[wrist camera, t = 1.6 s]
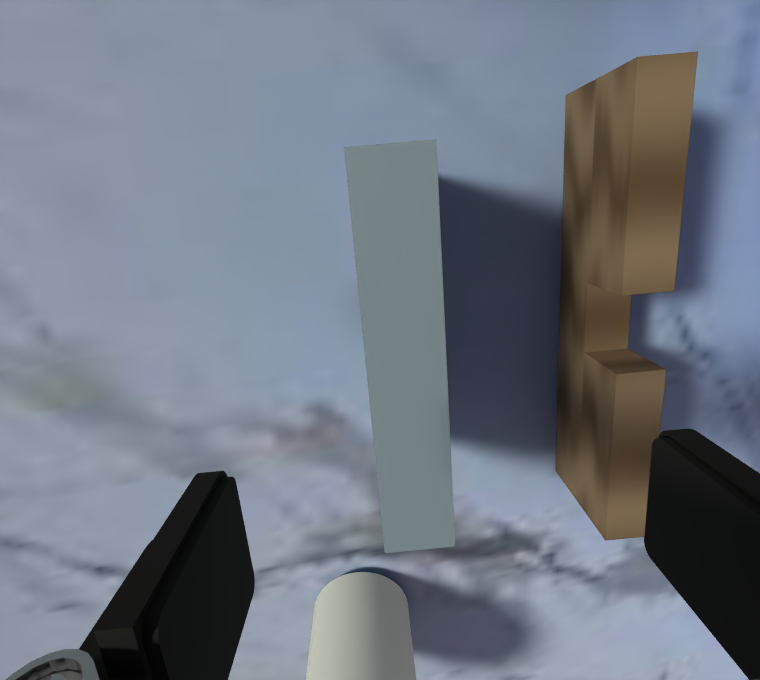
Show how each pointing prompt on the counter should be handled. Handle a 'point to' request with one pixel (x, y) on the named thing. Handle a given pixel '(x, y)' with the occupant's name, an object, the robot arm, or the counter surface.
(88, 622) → the counter surface
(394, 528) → the plain grey board
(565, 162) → the walnut slotted board
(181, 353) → the counter surface
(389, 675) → the can
